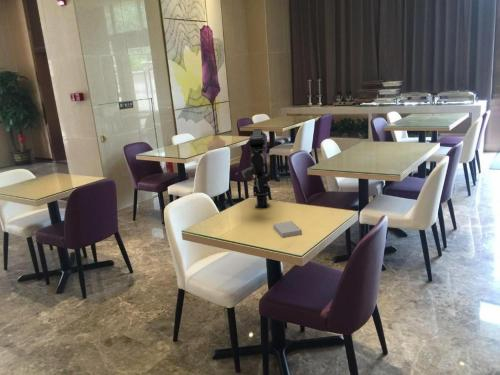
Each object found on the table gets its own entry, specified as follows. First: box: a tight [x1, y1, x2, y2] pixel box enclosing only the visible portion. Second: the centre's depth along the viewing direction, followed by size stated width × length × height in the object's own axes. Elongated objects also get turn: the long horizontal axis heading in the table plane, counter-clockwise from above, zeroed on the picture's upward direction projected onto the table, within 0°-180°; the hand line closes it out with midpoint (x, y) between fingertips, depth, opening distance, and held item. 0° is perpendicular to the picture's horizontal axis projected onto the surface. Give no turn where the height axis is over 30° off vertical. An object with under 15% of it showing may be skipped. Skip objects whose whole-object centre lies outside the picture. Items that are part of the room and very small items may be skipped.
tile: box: [272, 220, 303, 239], centre depth 193 cm, size 2×9×13 cm
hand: (260, 191), depth 215 cm, fingers closed
